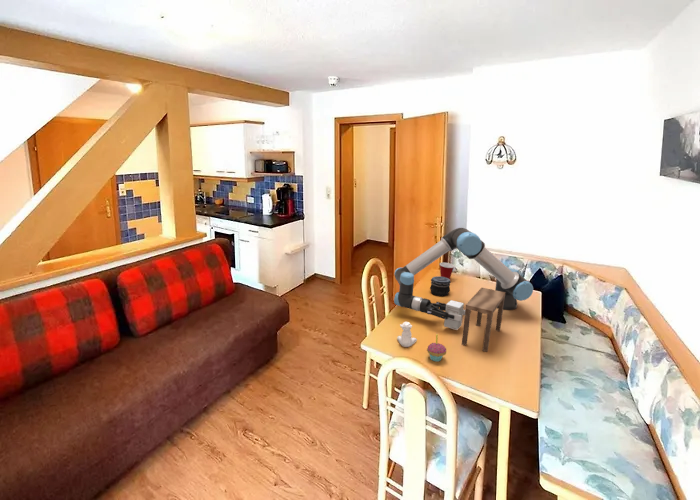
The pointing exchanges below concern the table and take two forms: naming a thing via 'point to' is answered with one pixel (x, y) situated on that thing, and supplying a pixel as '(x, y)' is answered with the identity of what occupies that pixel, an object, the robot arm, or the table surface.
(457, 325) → the supplement box
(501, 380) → the table surface
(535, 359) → the table surface
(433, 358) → the cupcake
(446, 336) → the table surface
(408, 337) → the seated beast figurine
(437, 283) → the container
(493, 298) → the walnut stool
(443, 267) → the plastic cup
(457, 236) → the robot arm
